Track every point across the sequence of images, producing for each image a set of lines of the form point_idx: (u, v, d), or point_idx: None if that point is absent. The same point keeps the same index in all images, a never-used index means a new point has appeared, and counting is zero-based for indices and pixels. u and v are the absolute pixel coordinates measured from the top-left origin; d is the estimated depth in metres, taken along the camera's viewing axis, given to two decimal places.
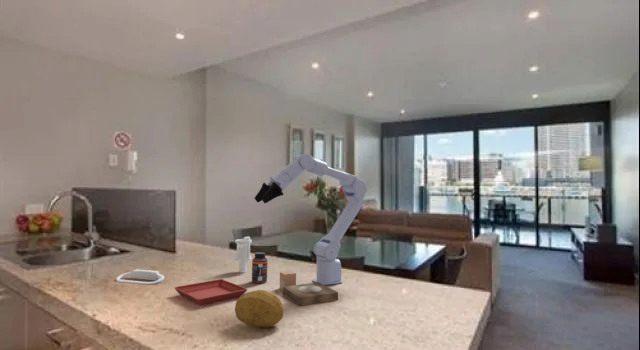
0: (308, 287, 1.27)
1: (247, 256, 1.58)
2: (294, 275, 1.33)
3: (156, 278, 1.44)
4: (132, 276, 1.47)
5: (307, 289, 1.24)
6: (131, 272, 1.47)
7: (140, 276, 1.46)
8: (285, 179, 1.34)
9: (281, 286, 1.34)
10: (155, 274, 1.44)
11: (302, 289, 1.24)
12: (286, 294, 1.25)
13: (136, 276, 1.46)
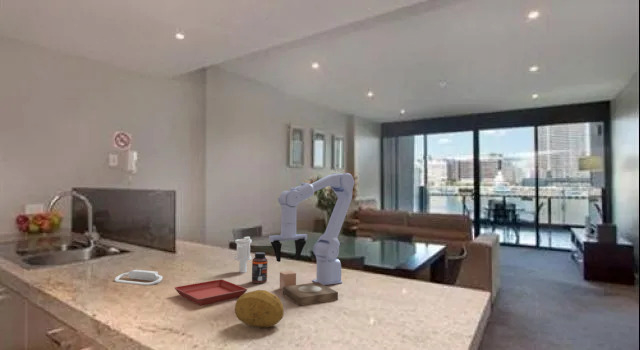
0: (308, 287, 1.27)
1: (247, 256, 1.58)
2: (294, 275, 1.33)
3: (154, 279, 1.43)
4: (131, 276, 1.46)
5: (307, 289, 1.24)
6: (130, 272, 1.46)
7: (139, 276, 1.45)
8: None
9: (281, 286, 1.34)
10: (153, 275, 1.43)
11: (302, 289, 1.24)
12: (286, 294, 1.25)
13: (135, 276, 1.46)
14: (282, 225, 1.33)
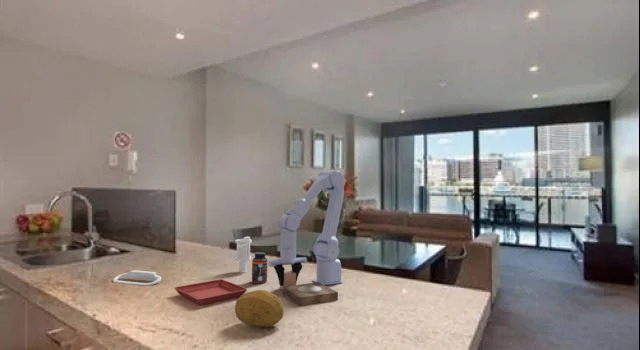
0: (308, 287, 1.27)
1: (247, 256, 1.58)
2: (294, 275, 1.33)
3: (153, 279, 1.42)
4: (129, 277, 1.46)
5: (307, 289, 1.24)
6: (128, 273, 1.45)
7: (137, 277, 1.45)
8: None
9: (281, 286, 1.34)
10: (152, 275, 1.42)
11: (302, 289, 1.24)
12: (286, 294, 1.25)
13: (133, 277, 1.45)
14: (282, 249, 1.33)
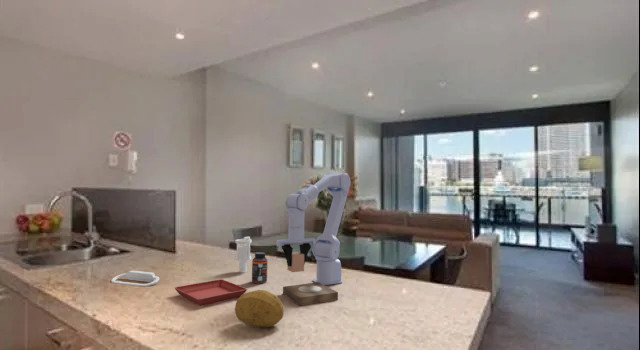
0: (308, 287, 1.27)
1: (247, 256, 1.58)
2: (302, 256, 1.30)
3: (151, 280, 1.41)
4: (128, 277, 1.45)
5: (307, 289, 1.24)
6: (127, 273, 1.45)
7: (136, 277, 1.44)
8: None
9: (289, 267, 1.31)
10: (150, 276, 1.41)
11: (302, 289, 1.24)
12: (286, 294, 1.25)
13: (132, 277, 1.44)
14: (290, 229, 1.30)
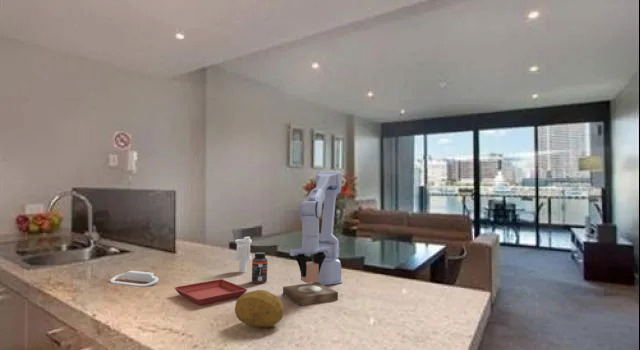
0: (308, 287, 1.27)
1: (247, 256, 1.58)
2: (316, 266, 1.25)
3: (150, 280, 1.41)
4: (127, 277, 1.44)
5: (307, 289, 1.24)
6: (126, 273, 1.44)
7: (135, 278, 1.43)
8: None
9: (303, 277, 1.25)
10: (149, 276, 1.41)
11: (302, 289, 1.24)
12: (286, 294, 1.25)
13: (131, 278, 1.44)
14: (304, 238, 1.24)
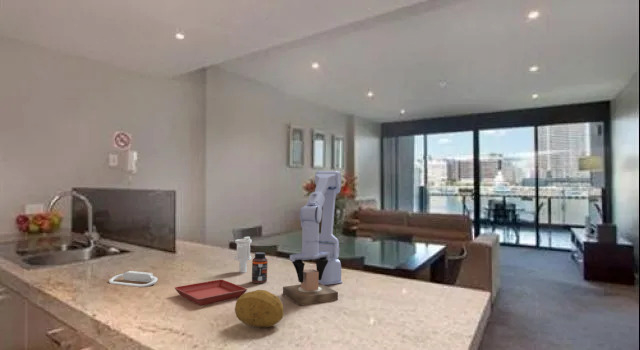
0: None
1: (247, 256, 1.58)
2: (316, 273, 1.25)
3: (149, 280, 1.41)
4: (125, 278, 1.44)
5: None
6: (124, 274, 1.44)
7: (133, 278, 1.43)
8: None
9: (303, 285, 1.25)
10: (148, 276, 1.40)
11: (302, 289, 1.24)
12: (286, 294, 1.25)
13: (129, 278, 1.43)
14: (304, 243, 1.24)
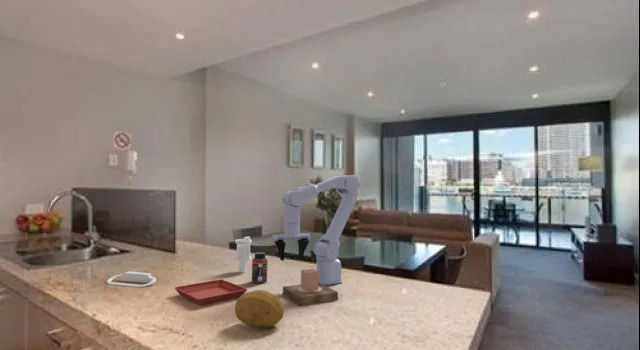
0: None
1: (247, 256, 1.58)
2: (316, 273, 1.25)
3: (148, 281, 1.40)
4: (123, 278, 1.43)
5: None
6: (122, 274, 1.43)
7: (132, 278, 1.42)
8: None
9: (303, 285, 1.25)
10: (147, 276, 1.40)
11: (302, 289, 1.24)
12: (286, 294, 1.25)
13: (127, 278, 1.43)
14: (286, 224, 1.35)
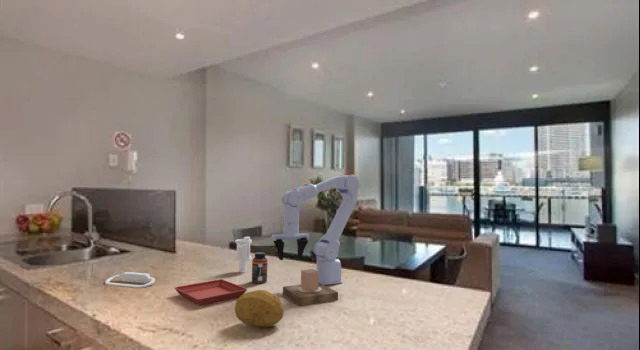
0: None
1: (247, 256, 1.58)
2: (316, 273, 1.25)
3: (147, 281, 1.39)
4: (122, 279, 1.42)
5: None
6: (121, 275, 1.42)
7: (130, 279, 1.41)
8: None
9: (303, 285, 1.25)
10: (146, 277, 1.39)
11: (302, 289, 1.24)
12: (286, 294, 1.25)
13: (126, 279, 1.42)
14: (285, 224, 1.36)
